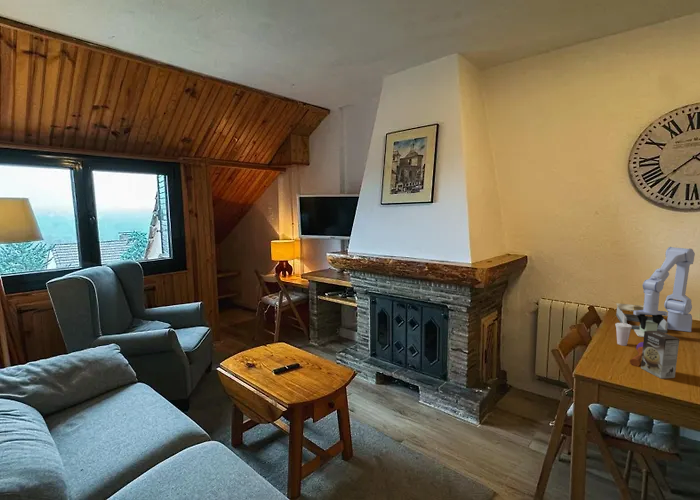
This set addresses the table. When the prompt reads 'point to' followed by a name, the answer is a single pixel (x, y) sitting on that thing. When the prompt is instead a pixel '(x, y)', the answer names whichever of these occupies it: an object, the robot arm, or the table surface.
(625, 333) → the smoothie
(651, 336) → the grey cardboard box
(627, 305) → the lid
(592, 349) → the table surface
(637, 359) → the kendama
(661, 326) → the grey shallow open box
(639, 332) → the tile
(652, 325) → the block
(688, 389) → the table surface
